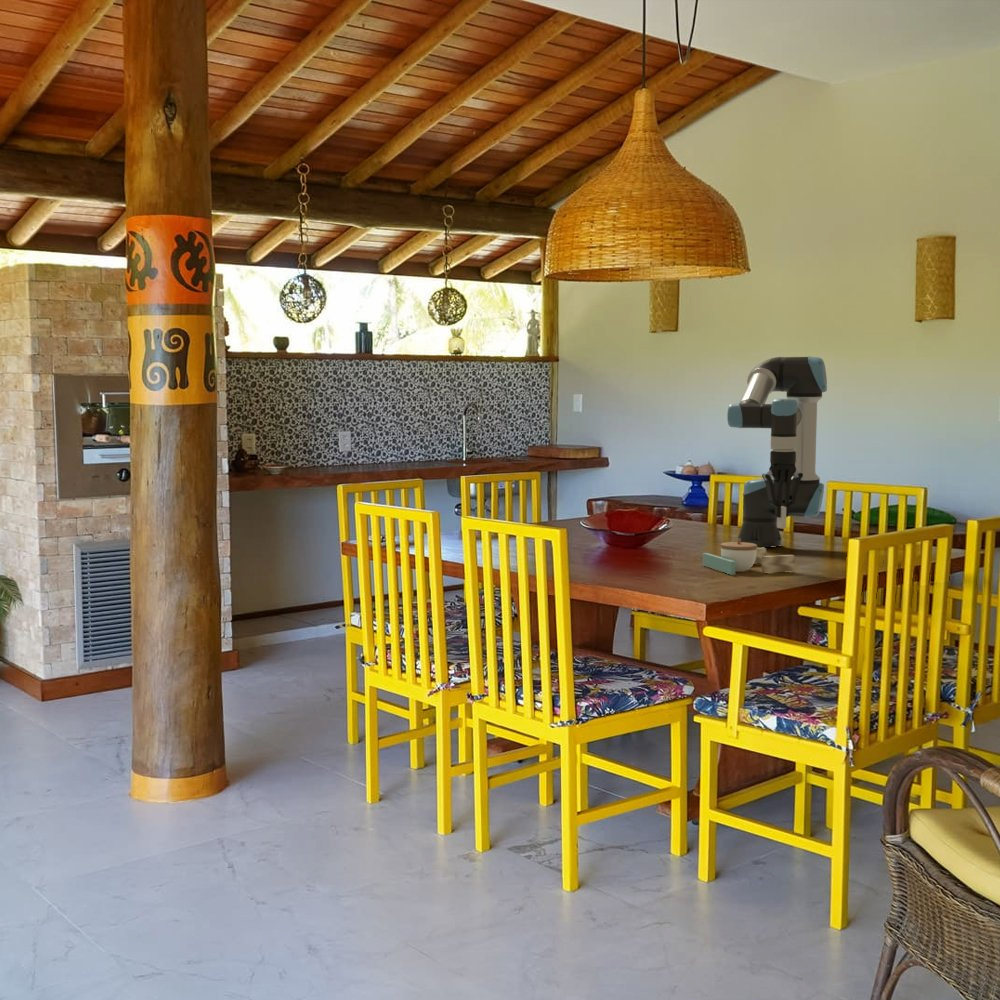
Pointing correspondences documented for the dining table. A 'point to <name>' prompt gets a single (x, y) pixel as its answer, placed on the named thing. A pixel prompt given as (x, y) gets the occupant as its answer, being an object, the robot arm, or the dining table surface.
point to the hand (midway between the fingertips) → (781, 527)
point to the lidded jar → (740, 553)
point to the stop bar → (718, 563)
